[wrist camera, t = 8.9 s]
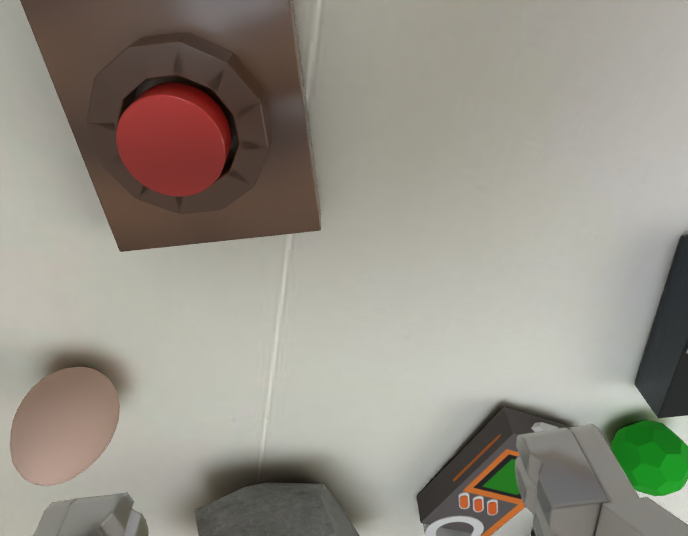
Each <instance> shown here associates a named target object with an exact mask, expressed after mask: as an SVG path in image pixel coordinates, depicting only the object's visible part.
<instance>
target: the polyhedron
mask: <svg viewBox="0 0 688 536" xmlns="http://www.w3.org/2000/svg"><path fill="white" fill-rule="evenodd" d="M611 451H612V452H613V454H614V456H615V457H616V459H617V461H618V462H619V464H620V466H621V467H622V469H623V471H624V473H625V474H626V476H627V478H628V479H629V481H630V483H631V484H632V486H633V488H634V489H635V490H637V491H639V492H643V493H646V494H650V495H653V496H664V495H667V494H670V493H673V492H676V491H679V490H680V489H681V488H682V487H683V486H684V485H685V483H686V481H687V479H688V446H687V445H686V444H685V443H684V442H683V441H682V440H681V439H680V438H679V437H678V436H677V435H676V434H675V433H674V432H672V431H671V430H670V429H669V428H668V427H666V426H665V425H664V424H662V423H658V422H653V421H649V420H643V421H639V422H636V423H633V424H631V425H628V426H625V427H623V428H621V429H620V430H618V431H617V433H616V435H615V437H614V439H613V440H612V442H611Z"/></svg>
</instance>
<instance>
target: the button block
mask: <svg viewBox="0 0 688 536" xmlns="http://www.w3.org/2000/svg"><path fill="white" fill-rule="evenodd" d="M20 1H21V3H22V6H23V8H24V11H25V14H26V16H27V19H28V21H29V24H30V26H31V29H32V31H33V34H34V36H35V39H36V41H37V44H38V46H39V49H40V51H41V54H42V56H43V59H44V61H45V64H46V66H47V69H48V71H49V74H50V77H51V79H52V82H53V84H54V87H55V89H56V92H57V94H58V97H59V99H60V102H61V104H62V107H63V109H64V112H65V114H66V117H67V119H68V122H69V124H70V127H71V129H72V132H73V134H74V137H75V140H76V142H77V145H78V147H79V150H80V152H81V155H82V157H83V160H84V162H85V165H86V167H87V170H88V172H89V175H90V177H91V180H92V182H93V185H94V187H95V190H96V192H97V195H98V198H99V200H100V203H101V205H102V208H103V210H104V213H105V215H106V218H107V220H108V223H109V225H110V228H111V230H112V233H113V235H114V238H115V240H116V243H117V245H118V248H119V250H120V251H121V252H123V251H132V250H141V249H151V248H160V247H170V246H179V245H188V244H198V243H207V242H216V241H226V240H235V239H245V238H254V237H263V236H273V235H282V234H291V233H301V232H310V231H319V230H321V209H320V202H319V194H318V187H317V179H316V172H315V164H314V157H313V149H312V142H311V134H310V127H309V119H308V112H307V104H306V96H305V89H304V81H303V74H302V66H301V59H300V51H299V44H298V36H297V29H296V21H295V14H294V6H293V0H20ZM171 82H175V83H183V84H187V85H190V86H193V87H195V88H198V89H200V90H201V91H203V92H205V93H206V94H208V95H209V96H210V97H211V98H212V99H213V100H214V101H215V102H216V103H217V104H218V105H219V106H220V108H221V109H222V110H223V112H224V114H225V116H226V118H227V120H228V123H229V126H230V131H231V147H230V151H229V154H228V157H227V159H226V162H225V165H224V167H223V170H222V172H221V174H220V176H219V177H218V179H217V180H216V181H215V182H214V183H213V184H212V185H211V186H210V187H209V188H207V189H206V190H204V191H202V192H200V193H197V194H194V195H189V196H169V195H164V194H161V193H158V192H156V191H153V190H151V189H149V188H148V187H146V186H144V185H143V184H141V183H140V182H139V181H138V180H137V179H135V178H134V177H133V176H132V174H131V173H130V172H129V171H128V170H127V168H126V167H125V165H124V163H123V162H122V160H121V157H120V155H119V152H118V148H117V142H116V131H117V126H118V123H119V120H120V118H121V116H122V114H123V113H124V111H125V110H126V109H127V108H128V107H129V106H130V105H131V104H132V103H133V102H134V101H135V100H136V99H137V98H138V97H139V96H140V95H141V94H142V93H143V92H144V91H146V90H147V89H149V88H151V87H153V86H155V85H158V84H162V83H171Z"/></svg>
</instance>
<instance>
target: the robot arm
mask: <svg viewBox="0 0 688 536" xmlns="http://www.w3.org/2000/svg"><path fill="white" fill-rule="evenodd" d="M516 447H517V450H518V452H519V456H518V457H517V458H516V459H515V473H516V480H517V485H518V488H519V492H520V495H521V498H522V500H523V503H524V506H525V507H526V508H527V509H529V510H530V511H531V512H532V513H533V514H534V520H533V530H534V532H535V535H536V536H688V525H687V524H686V523H684V522H683V521H681V520H680V519H679V518H677V517H676V516H674V515H673V514H671V513H670V512H668V511H667V510H665V509H664V508H663V507H661V506H660V505H658V504H657V503H655V502H654V501H652V500H651V499H649V498H648V497H643V498H639V496H638V494H637V493H636V491H635V489H634V488H633V486H632V484H631V483H630V481H629V479H628V478H627V476H626V474H625V473H624V471H623V469H622V467H621V466H620V464H619V462H618V461H617V459H616V457H615V456H614V454H613V452H612V451H611V449H610V447H609V446H608V444H607V442H606V441H605V439H604V437H603V435H602V434H601V432H600V430H599V429H598V428H597V427H596V426H595V425H594V424H587V425H581V426H575V427H570V428H566V427H564V428H557V429H551V430H545V431H539V432H533V433H527V434H521V435H518V437H517V440H516ZM133 503H134V501H133V499H132V498H131V497H130V495H129V494H128V493H119V494H111V495H104V496H96V497H88V498H81V499H71V500H65V501H58V502H52V503H51V504H50V506H49V507H48V508H47V509H46V510H45V511H44V514H43V516H42V518H41V520H40V522H39V525H38V527H37V529H36V531H35V533H34V535H33V536H148V526H147V523H146V520H145V518H144V516H143V515H142V513H140V512H137V511H135V510H133V509H132V506H133Z"/></svg>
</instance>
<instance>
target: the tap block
mask: <svg viewBox="0 0 688 536" xmlns="http://www.w3.org/2000/svg"><path fill="white" fill-rule="evenodd" d="M635 386H636V387H637V389H638V390H639V392H640V393H641V394H642V396H643V397H644V399H645V400H646V402H647V403H648V404H649V406H650V407H651V409H652V410H653V412H654V413H655V414H656V416H657V417H658V418H665V417H675V416H685V415H688V235H687V236H681V238H680V241H679V244H678V247H677V251H676V254H675V257H674V260H673V263H672V266H671V270H670V273H669V276H668V279H667V282H666V286H665V289H664V292H663V295H662V298H661V301H660V305H659V308H658V311H657V314H656V317H655V320H654V324H653V327H652V330H651V333H650V336H649V339H648V343H647V346H646V349H645V352H644V355H643V359H642V362H641V365H640V368H639V371H638V374H637V378H636V381H635Z"/></svg>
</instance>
